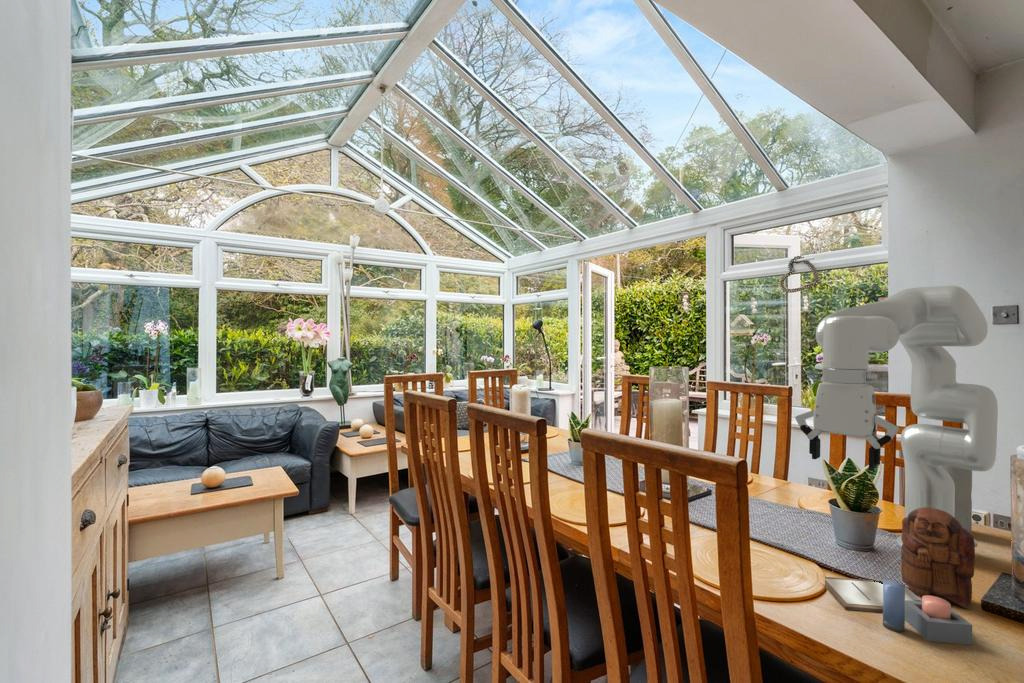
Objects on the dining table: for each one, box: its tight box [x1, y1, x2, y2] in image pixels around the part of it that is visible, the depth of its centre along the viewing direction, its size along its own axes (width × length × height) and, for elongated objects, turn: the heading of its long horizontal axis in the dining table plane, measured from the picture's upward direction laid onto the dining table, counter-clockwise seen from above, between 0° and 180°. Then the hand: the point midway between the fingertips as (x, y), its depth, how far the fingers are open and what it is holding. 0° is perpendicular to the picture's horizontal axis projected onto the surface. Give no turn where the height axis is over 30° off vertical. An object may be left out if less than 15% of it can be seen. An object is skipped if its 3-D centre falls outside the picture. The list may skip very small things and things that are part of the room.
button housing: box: [905, 600, 973, 646], centre depth 90 cm, size 7×7×4 cm
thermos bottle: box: [943, 466, 973, 534], centre depth 134 cm, size 8×8×28 cm
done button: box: [921, 595, 952, 620], centre depth 90 cm, size 4×4×4 cm
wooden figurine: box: [900, 507, 976, 609], centre depth 102 cm, size 12×6×18 cm, turn 44°
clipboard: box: [824, 576, 922, 613], centre depth 101 cm, size 16×12×1 cm
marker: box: [882, 580, 906, 633], centre depth 91 cm, size 3×3×8 cm
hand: (843, 462), depth 98 cm, fingers open, 9 cm apart
